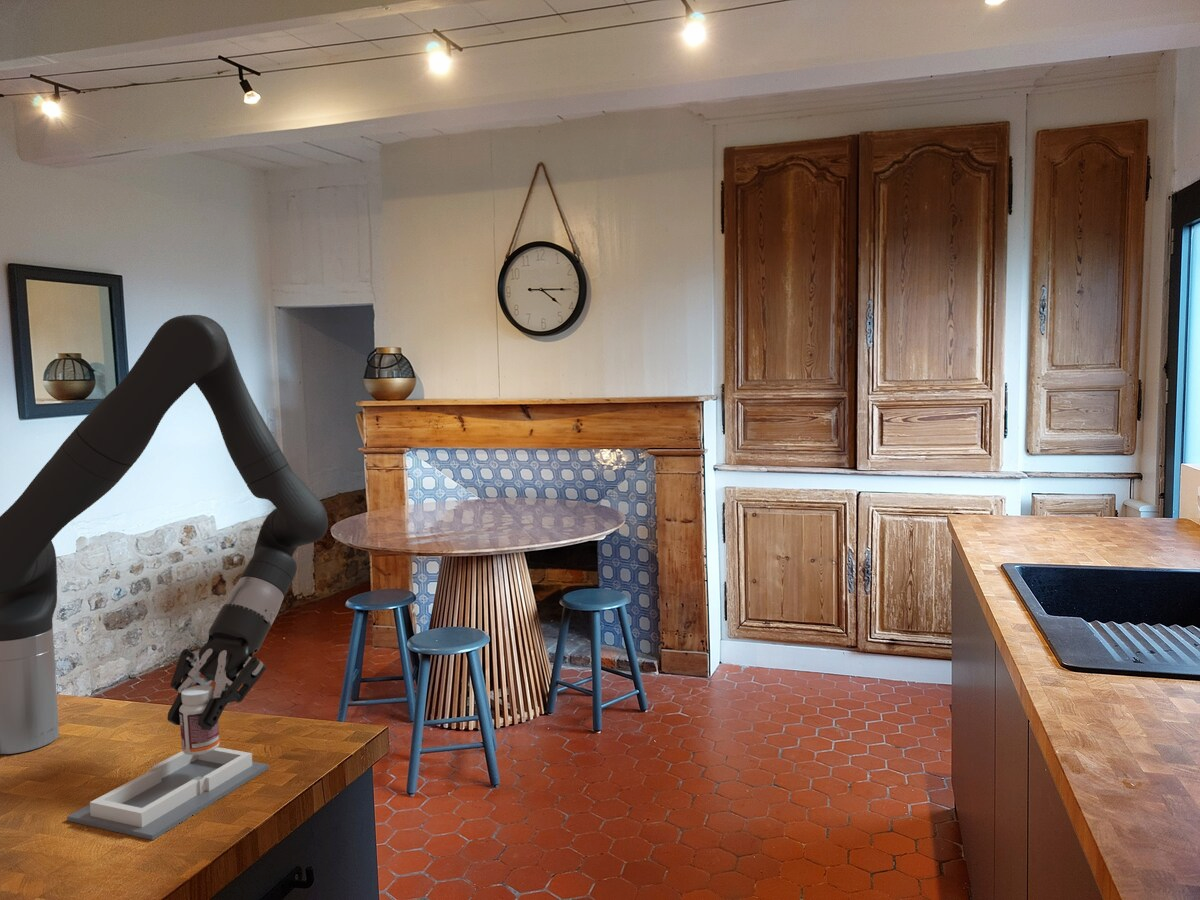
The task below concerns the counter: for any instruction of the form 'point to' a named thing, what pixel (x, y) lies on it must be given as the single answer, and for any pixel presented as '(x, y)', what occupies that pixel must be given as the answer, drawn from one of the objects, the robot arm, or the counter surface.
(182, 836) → the counter surface
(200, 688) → the pill bottle
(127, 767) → the counter surface
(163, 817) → the walled tray base
